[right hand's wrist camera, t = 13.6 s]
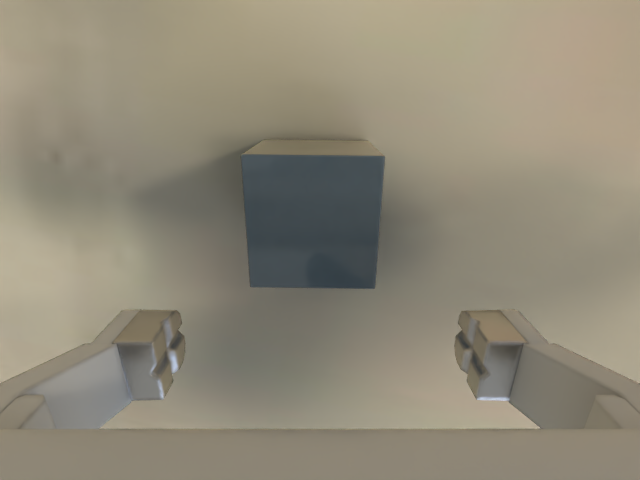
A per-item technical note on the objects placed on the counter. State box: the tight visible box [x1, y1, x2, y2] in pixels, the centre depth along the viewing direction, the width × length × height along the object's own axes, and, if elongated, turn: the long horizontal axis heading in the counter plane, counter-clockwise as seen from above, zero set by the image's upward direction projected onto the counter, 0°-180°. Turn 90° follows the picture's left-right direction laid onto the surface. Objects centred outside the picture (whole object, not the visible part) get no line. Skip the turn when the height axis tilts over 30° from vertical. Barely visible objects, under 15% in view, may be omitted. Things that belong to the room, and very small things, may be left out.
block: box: [241, 139, 385, 289], centre depth 14 cm, size 4×5×4 cm
